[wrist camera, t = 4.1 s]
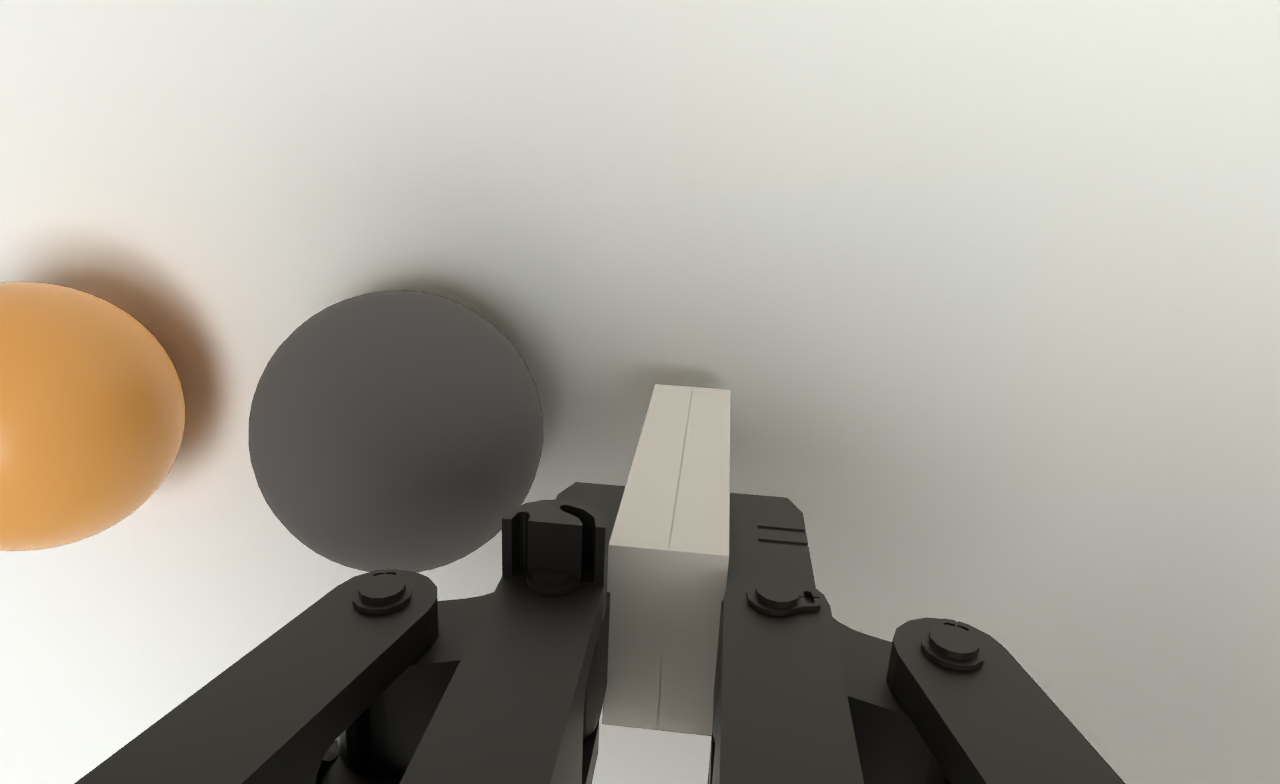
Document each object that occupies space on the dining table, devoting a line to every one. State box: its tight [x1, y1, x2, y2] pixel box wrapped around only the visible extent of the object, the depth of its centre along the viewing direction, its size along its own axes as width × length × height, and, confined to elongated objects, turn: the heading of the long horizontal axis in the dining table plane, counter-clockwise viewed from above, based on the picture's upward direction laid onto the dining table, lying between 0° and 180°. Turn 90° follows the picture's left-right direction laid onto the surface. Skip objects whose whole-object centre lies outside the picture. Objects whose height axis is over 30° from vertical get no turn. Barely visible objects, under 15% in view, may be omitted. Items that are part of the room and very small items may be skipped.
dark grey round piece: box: [249, 291, 543, 572], centre depth 16 cm, size 6×6×6 cm
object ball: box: [0, 282, 185, 551], centre depth 17 cm, size 6×6×6 cm
